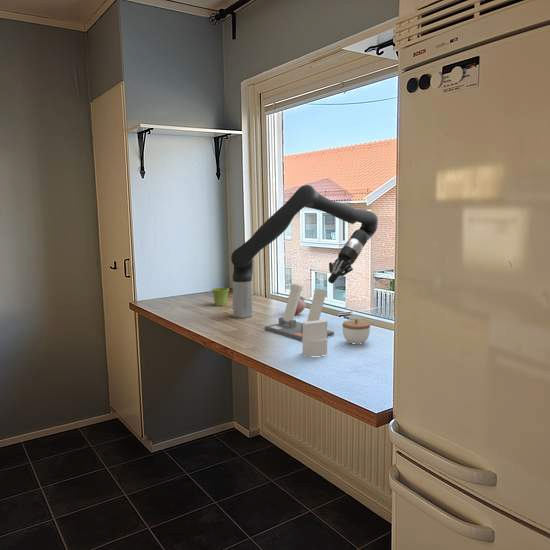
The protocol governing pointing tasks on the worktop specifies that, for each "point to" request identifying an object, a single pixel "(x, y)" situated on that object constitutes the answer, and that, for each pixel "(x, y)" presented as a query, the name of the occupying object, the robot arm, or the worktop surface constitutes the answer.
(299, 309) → the decorative fruit
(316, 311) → the lever marked
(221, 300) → the plant pot
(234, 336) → the worktop surface
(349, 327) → the lidded jar
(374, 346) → the worktop surface
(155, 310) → the worktop surface
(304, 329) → the white rectangular block
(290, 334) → the switch base
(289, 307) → the lever unmarked
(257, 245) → the robot arm
